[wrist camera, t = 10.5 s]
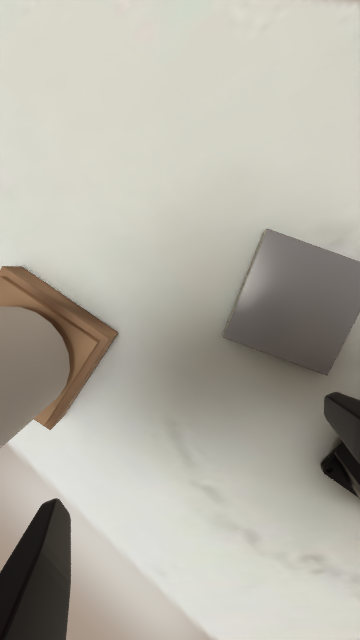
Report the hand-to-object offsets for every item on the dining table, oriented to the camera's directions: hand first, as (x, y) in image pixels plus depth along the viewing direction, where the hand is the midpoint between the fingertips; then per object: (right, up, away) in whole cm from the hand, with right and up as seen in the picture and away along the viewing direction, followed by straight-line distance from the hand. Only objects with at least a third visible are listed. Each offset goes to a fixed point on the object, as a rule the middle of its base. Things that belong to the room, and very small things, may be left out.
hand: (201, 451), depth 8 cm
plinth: (-12, +2, +13) cm, 18 cm away
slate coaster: (+8, +5, +11) cm, 14 cm away
